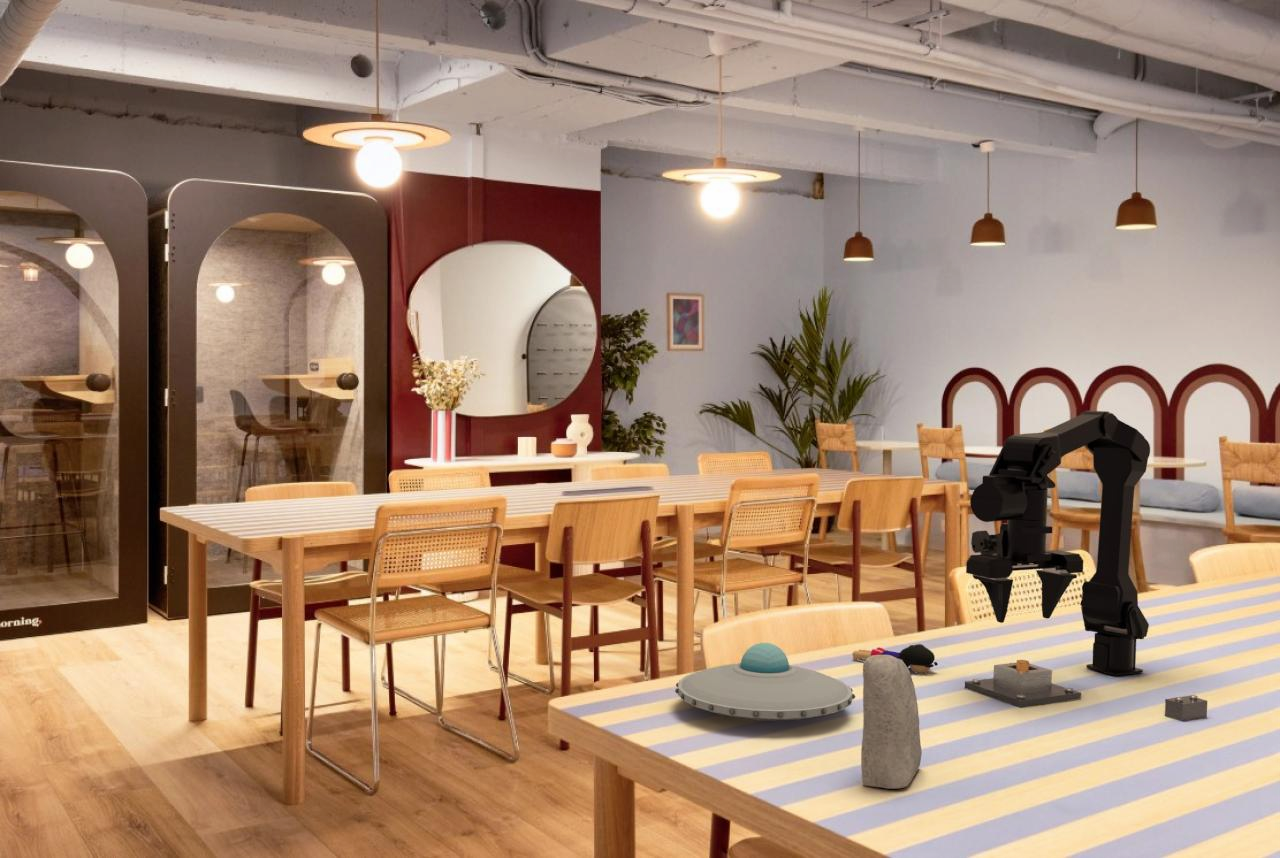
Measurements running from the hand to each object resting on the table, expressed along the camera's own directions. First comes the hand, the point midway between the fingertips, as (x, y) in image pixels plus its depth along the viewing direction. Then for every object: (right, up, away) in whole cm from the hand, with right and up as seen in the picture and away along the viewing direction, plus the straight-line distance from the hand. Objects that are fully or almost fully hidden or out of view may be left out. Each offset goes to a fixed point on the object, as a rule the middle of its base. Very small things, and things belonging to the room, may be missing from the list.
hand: (1023, 620), depth 185 cm
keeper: (0, -11, +1) cm, 11 cm away
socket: (0, -10, +1) cm, 10 cm away
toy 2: (-16, -11, +16) cm, 26 cm away
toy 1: (-41, -12, -12) cm, 44 cm away
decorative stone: (-28, -13, -39) cm, 50 cm away
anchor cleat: (+20, -12, -11) cm, 26 cm away
